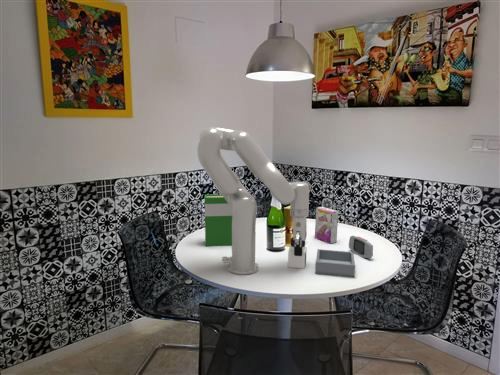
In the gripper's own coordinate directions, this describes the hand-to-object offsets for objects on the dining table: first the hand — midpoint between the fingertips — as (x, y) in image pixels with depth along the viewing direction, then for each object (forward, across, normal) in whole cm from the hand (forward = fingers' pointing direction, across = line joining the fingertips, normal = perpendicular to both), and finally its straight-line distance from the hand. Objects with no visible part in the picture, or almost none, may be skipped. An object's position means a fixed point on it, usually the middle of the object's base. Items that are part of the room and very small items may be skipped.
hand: (299, 251), depth 154 cm
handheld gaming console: (+7, +18, -26) cm, 33 cm away
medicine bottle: (+6, 0, +1) cm, 6 cm away
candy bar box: (+7, +35, -10) cm, 37 cm away
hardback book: (+5, +18, +39) cm, 43 cm away
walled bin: (+6, 0, -15) cm, 16 cm away
